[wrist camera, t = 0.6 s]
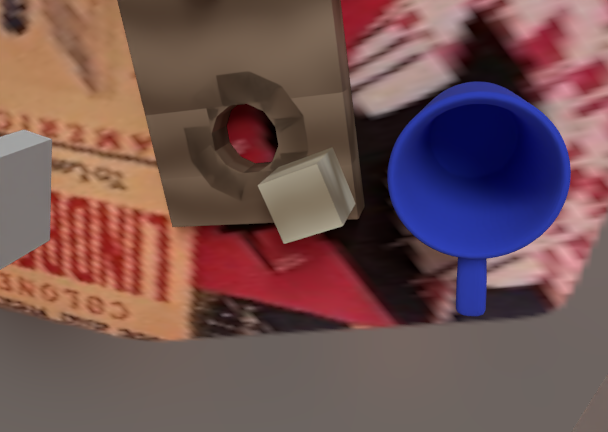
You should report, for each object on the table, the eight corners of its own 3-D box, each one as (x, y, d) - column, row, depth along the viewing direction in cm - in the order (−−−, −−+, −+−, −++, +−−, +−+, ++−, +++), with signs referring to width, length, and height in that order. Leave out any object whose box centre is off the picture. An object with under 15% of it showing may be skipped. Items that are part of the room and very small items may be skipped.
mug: (408, 247, 38) (391, 321, 29) (406, 71, 34) (384, 96, 25) (534, 251, 36) (556, 334, 27) (548, 63, 32) (579, 87, 23)
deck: (115, -102, 35) (91, -109, 33) (322, -157, 31) (310, -169, 29) (188, 215, 42) (172, 227, 40) (364, 206, 38) (358, 218, 36)
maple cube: (278, 167, 36) (257, 185, 32) (332, 147, 34) (316, 163, 31) (301, 220, 37) (284, 244, 33) (355, 203, 35) (342, 226, 32)
